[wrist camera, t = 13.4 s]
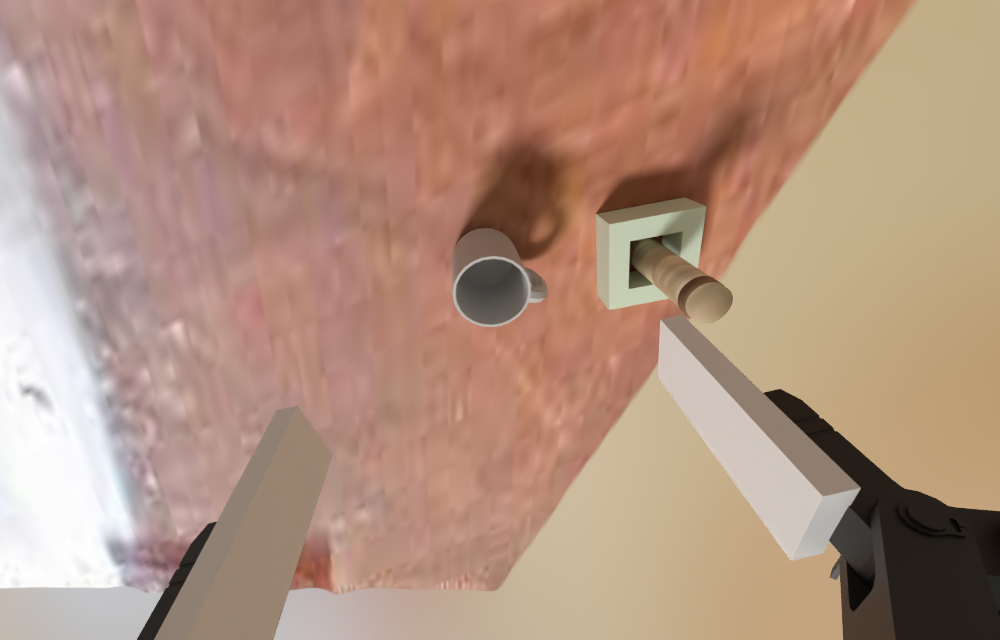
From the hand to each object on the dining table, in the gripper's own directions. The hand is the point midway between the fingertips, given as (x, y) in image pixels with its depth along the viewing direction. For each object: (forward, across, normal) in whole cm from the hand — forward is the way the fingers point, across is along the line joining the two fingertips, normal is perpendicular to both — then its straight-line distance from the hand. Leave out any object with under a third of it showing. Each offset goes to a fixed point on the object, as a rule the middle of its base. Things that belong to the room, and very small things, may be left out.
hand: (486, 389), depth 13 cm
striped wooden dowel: (+28, +18, -10) cm, 35 cm away
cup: (+29, +2, -8) cm, 30 cm away
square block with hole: (+28, +18, -10) cm, 35 cm away
